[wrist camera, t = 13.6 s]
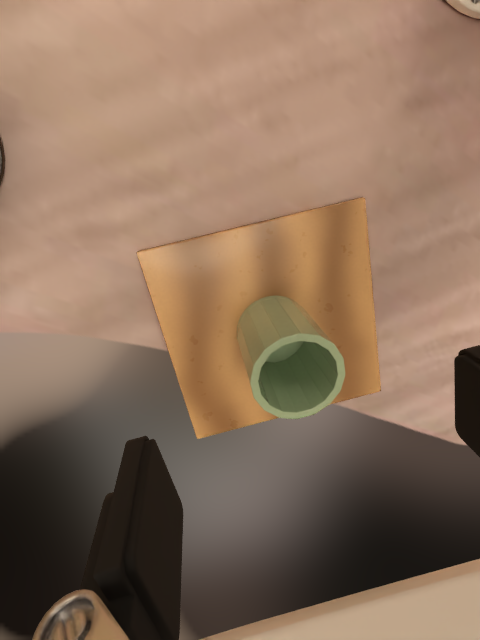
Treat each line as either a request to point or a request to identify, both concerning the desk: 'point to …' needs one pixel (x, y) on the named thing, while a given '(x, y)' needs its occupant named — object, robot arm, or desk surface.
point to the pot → (288, 358)
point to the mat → (253, 284)
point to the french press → (1, 161)
